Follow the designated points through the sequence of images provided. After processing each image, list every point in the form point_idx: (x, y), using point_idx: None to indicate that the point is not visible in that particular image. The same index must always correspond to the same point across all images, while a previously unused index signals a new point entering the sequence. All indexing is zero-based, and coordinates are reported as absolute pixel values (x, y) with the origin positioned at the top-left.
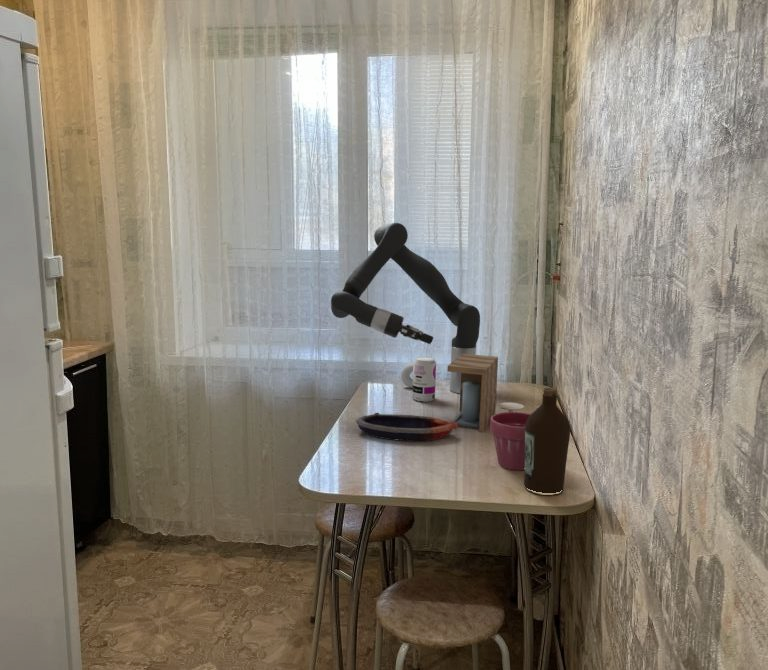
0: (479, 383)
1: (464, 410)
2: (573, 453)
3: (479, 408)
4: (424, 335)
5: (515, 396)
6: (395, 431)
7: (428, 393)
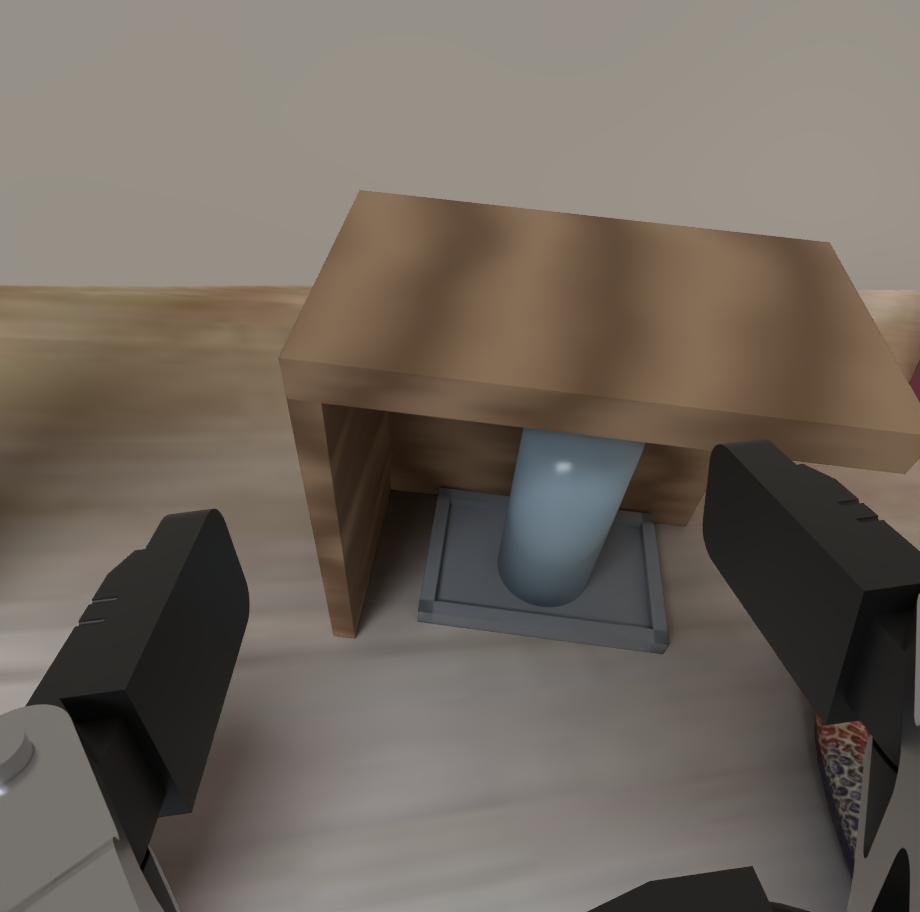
0: None
1: (595, 560)
2: None
3: (378, 521)
4: (866, 546)
5: (21, 399)
6: None
7: None
